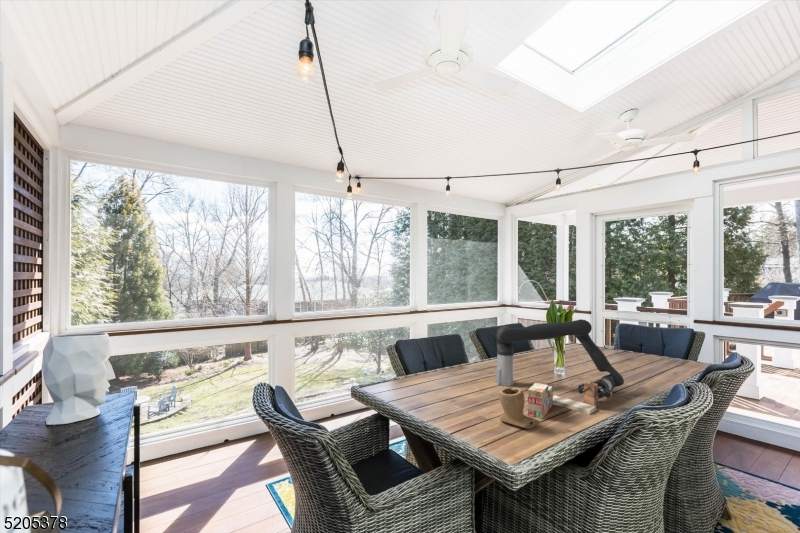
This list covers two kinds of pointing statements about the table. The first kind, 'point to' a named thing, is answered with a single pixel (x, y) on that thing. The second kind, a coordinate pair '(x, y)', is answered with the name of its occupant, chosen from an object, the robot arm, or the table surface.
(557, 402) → the board
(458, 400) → the table surface
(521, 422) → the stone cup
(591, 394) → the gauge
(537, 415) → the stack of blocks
